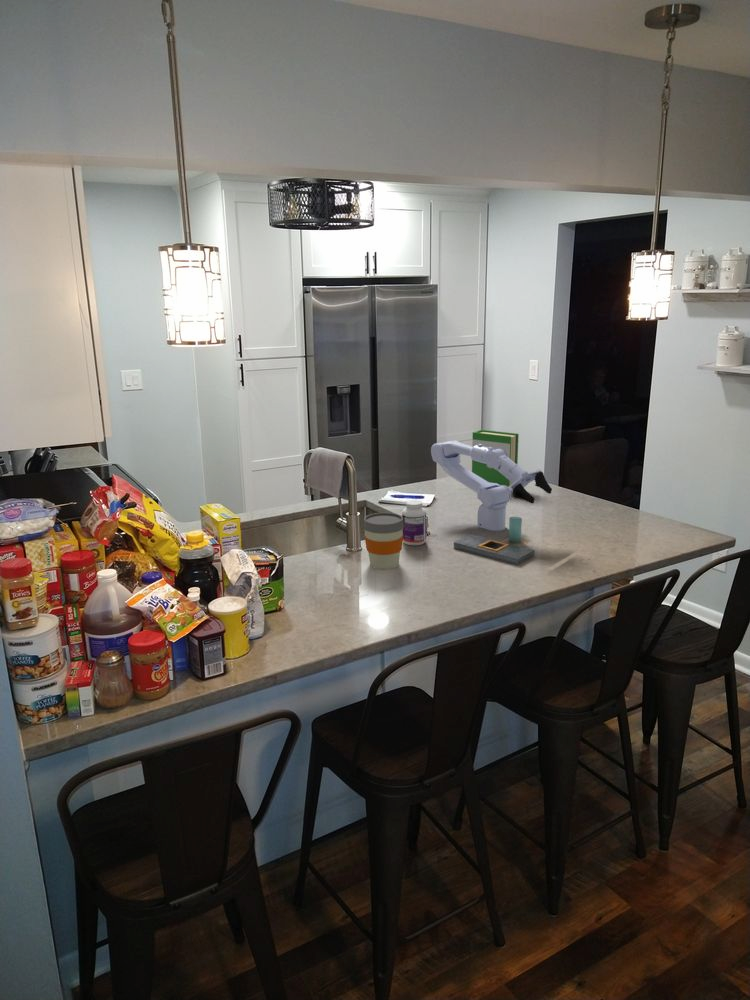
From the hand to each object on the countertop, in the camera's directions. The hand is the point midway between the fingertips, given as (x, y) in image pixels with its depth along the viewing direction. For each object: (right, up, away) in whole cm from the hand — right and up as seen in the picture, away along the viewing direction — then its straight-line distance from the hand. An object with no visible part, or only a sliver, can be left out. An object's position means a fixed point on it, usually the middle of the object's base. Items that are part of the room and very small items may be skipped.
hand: (542, 496), depth 232 cm
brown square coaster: (-8, -16, +6) cm, 19 cm away
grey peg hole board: (-17, -19, -3) cm, 25 cm away
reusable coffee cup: (-52, -21, -9) cm, 57 cm away
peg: (-8, -15, +6) cm, 18 cm away
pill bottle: (-41, -16, +9) cm, 45 cm away
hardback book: (-4, +4, +73) cm, 74 cm away
